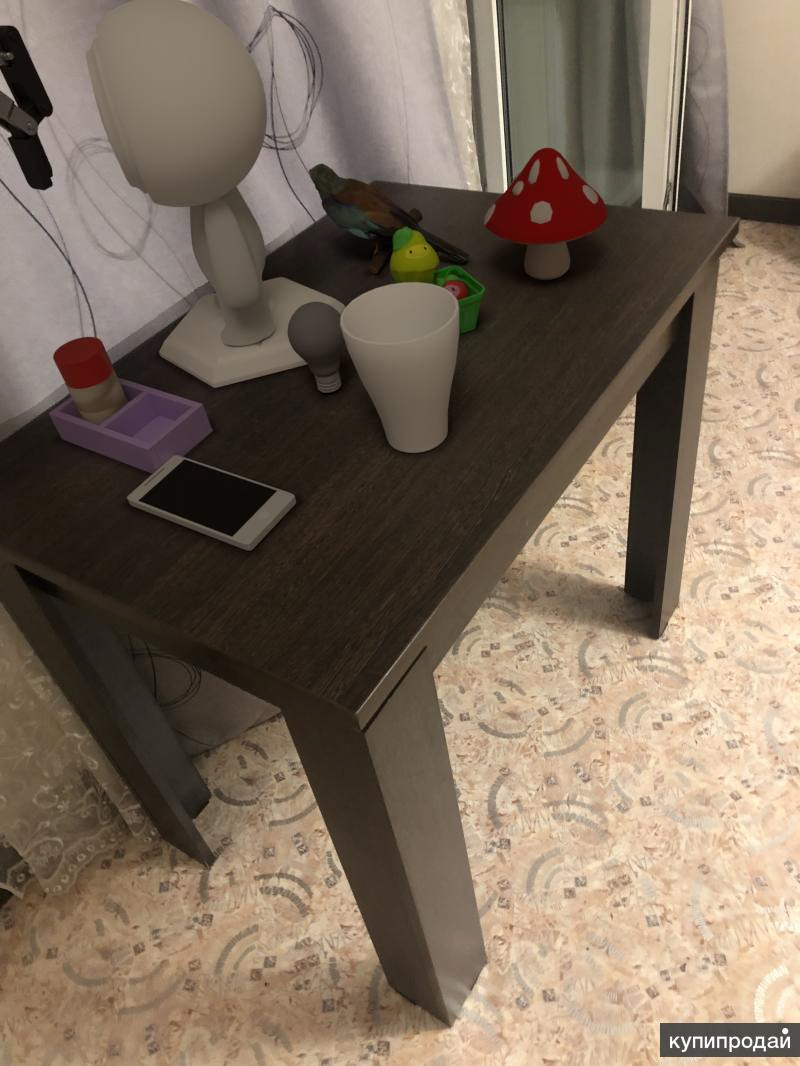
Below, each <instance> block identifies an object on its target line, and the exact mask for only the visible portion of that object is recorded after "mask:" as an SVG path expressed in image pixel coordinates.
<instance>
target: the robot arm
mask: <svg viewBox="0 0 800 1066" xmlns="http://www.w3.org/2000/svg"><path fill="white" fill-rule="evenodd" d="M27 48H28V47H27V46H26V44H25V42H24V40H23V37H22V36H21V34H20V31H19V29H18V28H17V27H16V26H14V25H9V24H8V25H3V24H1V25H0V72H1V74H2V77H3V79H4V81H5V83H6V85H7V87H8V89H9V91H10V93H11V95H12V97H13V99H14V100H13V99H12V98H11V97H10V96H8V95H7V94H6V93H5V92H3V91H2V90H0V128H2V129H3V130H4V131H6V132H7V133H10V134H11V135H10V136H9V137H6V138H7V141H8V143H9V145H10V148H11V149H12V152H13V154H14V156H15V158H16V161H17V164H18V165H19V168H20V170H21V172H22V174H23V176H24V179H25V181H26V183H27V185H28V186H29V187H30V188H31V189H33V190H39V191H46V190H48V189H50V188H52V187H53V186H54V184H53V179H52V178H53V177H54V173H53V166H52V165H51V162H50V160H49V157H48V155H47V153H46V150H45V148H44V146H43V144H42V141H41V139H40V136H39V133H38V130H39V127H40V124H41V123H42V122H43V120H44V119H45V118H49V117H51V116H53V114H54V113H53V112H54V106H53V103H52V101H51V99H50V97H49V95H48V93H47V89H46V88H45V86H44V83H43V82H42V81H43V80H42V79H41V77H40V75H39V73H38V70H37V68H36V66H35V64H34V62H33V59H32V57H31V55H30V53H29V50H28V49H27Z"/></svg>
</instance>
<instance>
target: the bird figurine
mask: <svg viewBox="0 0 800 1066" xmlns="http://www.w3.org/2000/svg"><path fill="white" fill-rule="evenodd" d="M308 173H309V177H310V179H311V181H312V183H313V185H314V189H315V190H317V192H318V196H319V199H320V200H321V207H322V210H323V211H324V212H325V213H326V215H327V216H328V217H329V218H330V219H331V220H332V222H334V223H335V224H336V225H337V226H338V227H339V228H340V229H342V230H344V231H346V232H348V233H350V234H352V235H354V236H356V237H357V238H361V239H363V240H367V241H370V242H373V243H375V244H374V246H373V247H371V250H372V251H373V255H372V258H371V262H370V264H369V265H368V271H369V272H370V273H371V274H374V275H377V274H378V273H379V272H380V271H381V269H382V268H383V266H384V264H385V263H386V260H387V259H388V257H389V255H390V254H391V251H393V236H394V234H395V232H396V231H398V230H400V229H402V228H404V227H408V228H410V229H411V230H415V231H418V232H420V233H421V234H422V235H423V237H424V238H425V240H426V242H427V243H428V244H429V245H430V246H431V247H432V248H433V249H434V250H435V252H436V254H438V253H441V254H443V255H446V256H447V257H448V258H449V259H450V260H452V261H453V262H457V263H459V264H463V263H464V261H468V259H469V256H470V254H469V253H468V252H466V251H464V250H463V249H461V248H459V247H458V246H455V245H453V244H451V243H450V242H448V241H446V240H444V239H442V238H440V237H439V236H437V235H435V234H433V233H431V232H429V231H427V230H426V229H425V228H422V227H421V226H420V225H419V223H420V222H421V221H422V220H423V214H422V212H421V211H420V209H418V208H416V207H413V208H412V209H410V211H409V212H408V211H406V210H405V209H403V208H402V207H401V206H400V205H398V204H397V203H396V202H395V201H393V200H392V199H391V198H390V197H389V196H387V195H386V194H384V193H383V192H382V191H380V190H379V189H378V188H377V187H376V186H374V185H372V184H368V183H366V182H363V181H361V180H359V179H355V178H345V177H342V176H339V174H337V173H336V172H335V170H334V169H333V168H331V167H330V166H329V165H326V164H324V163H318V164H317V165H315V166H313V167H312V168H309V170H308Z"/></svg>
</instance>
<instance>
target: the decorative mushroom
mask: <svg viewBox="0 0 800 1066" xmlns="http://www.w3.org/2000/svg"><path fill="white" fill-rule="evenodd" d="M608 213H609V210H608V208H607V206H606V203H605V201H604V199H603V197H601V195H600V194H599V192H598V191H597V190H596V189H595V188H594V187H592V186H590V185H589V184H588V183H587V182H586V180H584V179H583V178H582V177H581V176H580V175H579V174H578V172H577V170H576V168H574V167H573V166H572V165H571V164H570V163H569V162H568V160H567V159H566V158H565V156H564V155H562V153H561V152H559V151H558V150H556V149H555V148H553V147H543V148H541V149H538V150H537V151H535V152H534V153H533V154H532V156H531V157H530V158H529V159H528V161H527V162H526V164H525V165H524V167H523V168H522V170H521V171H518V172H517V173H516V174H515V176H514V177H513V179H512V183H510V185H509V187H508V188H507V189H506V190H505V191H504V192H503V193H502V194H501V196H500V197H498V199H496V201H495V202H494V203H493V204H492V205H491V206H490V208H488V210H487V212H486V213H485V215H484V219H483V226H484V228H485V229H487V230H488V231H489V232H491V233H492V234H494V235H496V236H497V237H499V238H501V239H503V240H506V241H507V242H512V243H516V244H519V245H520V244H521V245H527V247H526V251H525V255H524V262H523V267H524V271H525V273H526V274H527V275H528V276H529V277H530V278H533V279H535V280H540V281H551V280H555V279H558V278H561V277H562V276H563V275H565V273H567V272H568V270H569V269H570V265H571V257H570V256H571V255H570V252H569V249H568V244H567V243H568V242H571V241H574V240H577V239H581V238H583V237H585V236H587V235H589V234H591V233H593V232H595V231H596V230H597V229H598V228H600V227H601V226H602V225H604V223H605V222H606V220H607V219H608Z"/></svg>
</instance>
